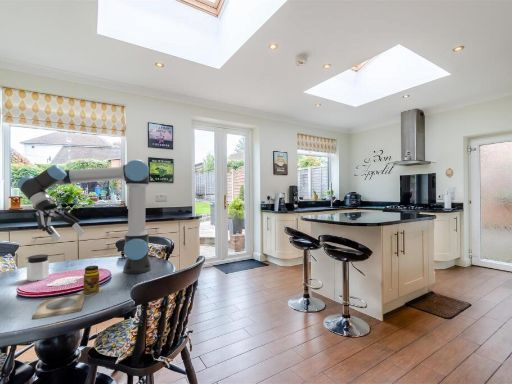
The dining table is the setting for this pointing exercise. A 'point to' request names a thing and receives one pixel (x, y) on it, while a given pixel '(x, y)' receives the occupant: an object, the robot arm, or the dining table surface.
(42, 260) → the jar
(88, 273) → the condiment
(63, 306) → the board
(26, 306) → the dining table surface
